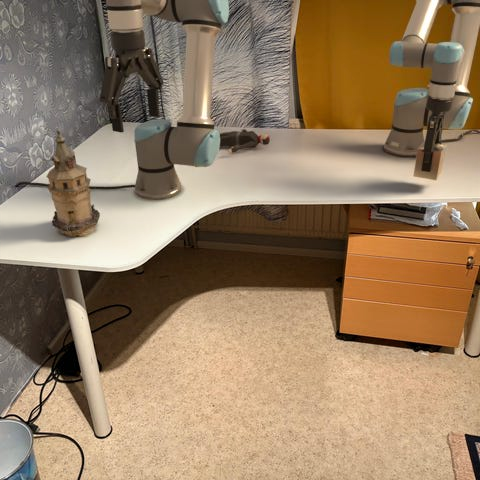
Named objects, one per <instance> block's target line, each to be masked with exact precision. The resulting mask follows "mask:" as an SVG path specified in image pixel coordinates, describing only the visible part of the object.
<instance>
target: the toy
mask: <svg viewBox="0 0 480 480" xmlns="http://www.w3.org/2000/svg"><path fill="white" fill-rule="evenodd" d="M219 133H220V146H219V148H220V147H228V148H229V149H227V153H229V154H230V155H231V154H234V153H238V152H239V151H242V150H245V149H248V150H254V149H257V148H258V146H259V144H260V145H264V146H267V145H269V144H270V142H271V139H270V136H269V135H268V134H259V135H258V134H257V133H256V132H255V131H254V130H247V129H245V128H241V129H240V131H239V130H238V131H237V130H234V131H225V132H219Z"/></svg>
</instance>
